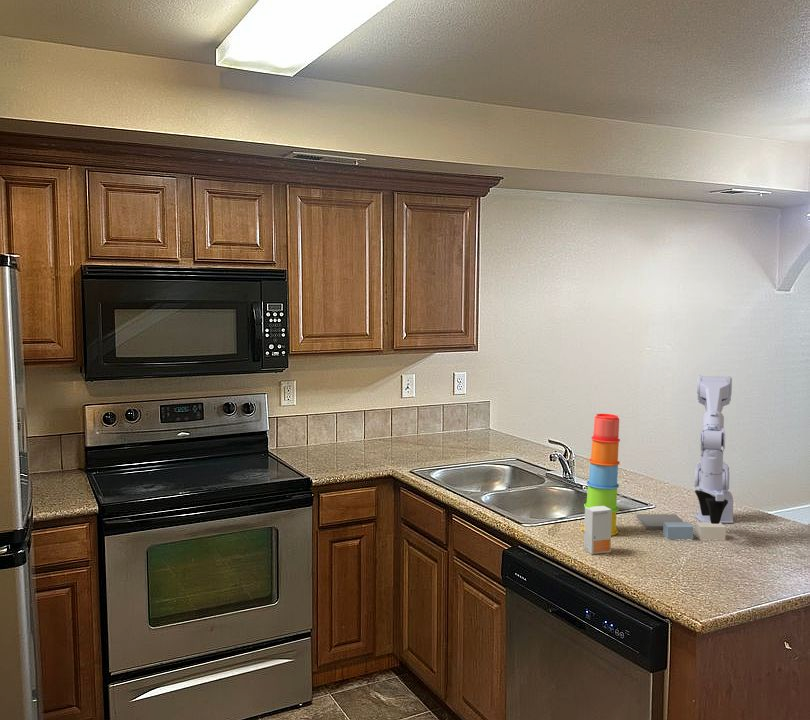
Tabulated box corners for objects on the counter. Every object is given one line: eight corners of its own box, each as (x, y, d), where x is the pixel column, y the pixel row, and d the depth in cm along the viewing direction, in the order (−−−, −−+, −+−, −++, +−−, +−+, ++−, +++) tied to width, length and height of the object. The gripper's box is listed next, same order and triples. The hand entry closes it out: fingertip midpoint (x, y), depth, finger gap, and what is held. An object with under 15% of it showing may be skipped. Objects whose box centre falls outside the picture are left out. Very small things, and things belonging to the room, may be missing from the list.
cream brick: (719, 535, 220) (720, 522, 220) (725, 540, 216) (725, 527, 215) (694, 535, 221) (695, 522, 220) (700, 540, 216) (700, 526, 216)
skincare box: (591, 555, 205) (592, 511, 204) (583, 550, 209) (584, 507, 208) (611, 552, 207) (612, 509, 206) (603, 547, 211) (603, 505, 210)
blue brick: (687, 535, 221) (687, 522, 220) (692, 540, 216) (693, 526, 216) (663, 535, 221) (663, 522, 221) (667, 540, 216) (668, 526, 216)
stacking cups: (593, 523, 232) (594, 410, 229) (624, 531, 225) (626, 414, 222) (575, 531, 224) (576, 415, 221) (606, 539, 217) (608, 419, 214)
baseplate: (675, 517, 237) (675, 514, 237) (687, 529, 225) (688, 526, 225) (636, 517, 238) (636, 514, 238) (646, 529, 226) (646, 526, 226)
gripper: (689, 466, 224) (688, 511, 225) (705, 478, 209) (704, 527, 210) (713, 466, 223) (712, 512, 225) (732, 478, 209) (730, 527, 210)
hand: (710, 519), depth 217 cm, fingers open, 7 cm apart
